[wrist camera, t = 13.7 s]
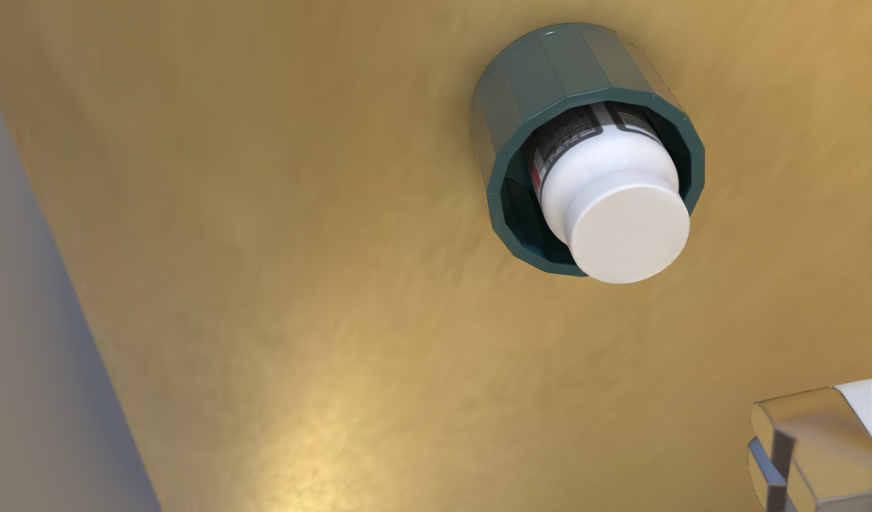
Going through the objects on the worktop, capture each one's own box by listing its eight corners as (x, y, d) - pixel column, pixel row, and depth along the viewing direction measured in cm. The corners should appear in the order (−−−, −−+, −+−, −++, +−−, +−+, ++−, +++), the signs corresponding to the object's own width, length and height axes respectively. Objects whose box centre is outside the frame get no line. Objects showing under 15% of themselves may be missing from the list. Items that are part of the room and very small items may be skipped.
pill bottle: (519, 179, 42) (559, 305, 34) (508, 74, 38) (549, 188, 30) (633, 159, 42) (700, 281, 34) (631, 52, 38) (706, 161, 30)
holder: (484, 209, 44) (504, 293, 38) (453, 46, 38) (471, 115, 33) (658, 174, 43) (704, 253, 38) (653, 3, 38) (705, 66, 32)
